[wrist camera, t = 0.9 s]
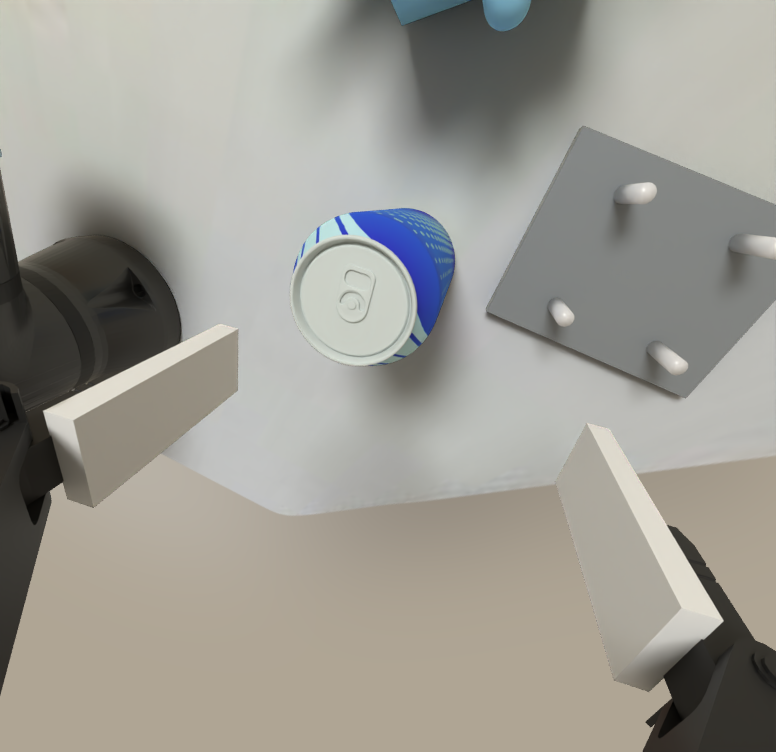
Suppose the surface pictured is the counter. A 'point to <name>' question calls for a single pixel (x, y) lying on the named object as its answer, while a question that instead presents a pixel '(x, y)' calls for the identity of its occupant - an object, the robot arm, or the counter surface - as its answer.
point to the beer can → (371, 284)
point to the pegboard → (641, 264)
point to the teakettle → (501, 3)
